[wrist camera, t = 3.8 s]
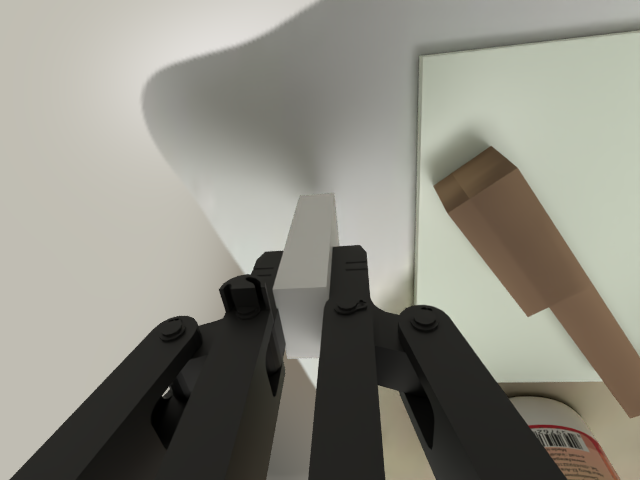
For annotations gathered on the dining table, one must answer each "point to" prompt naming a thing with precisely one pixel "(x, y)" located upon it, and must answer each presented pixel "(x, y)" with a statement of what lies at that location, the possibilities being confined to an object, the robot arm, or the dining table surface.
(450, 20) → the dining table surface
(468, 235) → the arm
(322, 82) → the dining table surface
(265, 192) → the dining table surface
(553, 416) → the fruit juice
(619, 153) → the board
